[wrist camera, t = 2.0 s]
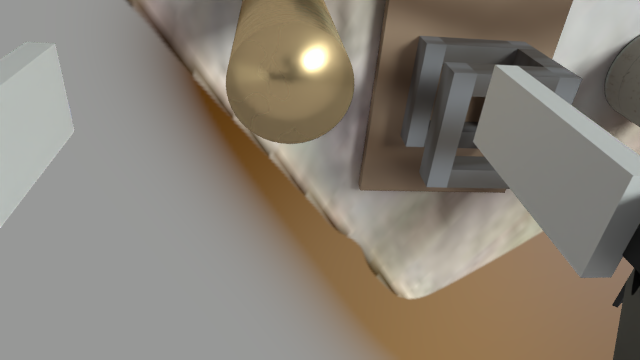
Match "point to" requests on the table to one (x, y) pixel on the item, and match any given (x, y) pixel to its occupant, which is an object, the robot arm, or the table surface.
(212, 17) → the table surface
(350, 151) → the table surface
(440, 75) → the collar stand
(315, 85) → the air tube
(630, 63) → the thermos bottle
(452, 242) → the table surface
